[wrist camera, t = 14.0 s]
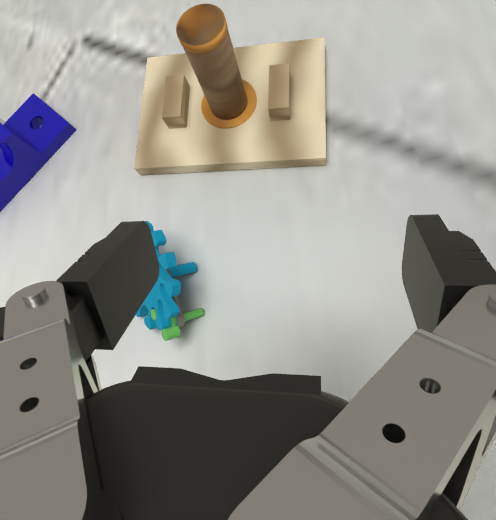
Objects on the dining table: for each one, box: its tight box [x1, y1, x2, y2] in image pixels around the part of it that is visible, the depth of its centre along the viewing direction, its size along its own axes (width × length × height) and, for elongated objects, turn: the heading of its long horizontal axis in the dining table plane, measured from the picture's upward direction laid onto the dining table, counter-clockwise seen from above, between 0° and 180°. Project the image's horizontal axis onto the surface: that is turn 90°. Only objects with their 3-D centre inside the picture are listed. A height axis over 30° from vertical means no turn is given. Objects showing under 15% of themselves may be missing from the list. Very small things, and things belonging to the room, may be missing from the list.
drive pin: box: [176, 4, 248, 120], centre depth 36 cm, size 4×4×10 cm
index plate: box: [134, 38, 326, 175], centre depth 40 cm, size 20×14×4 cm
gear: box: [136, 221, 204, 341], centre depth 36 cm, size 11×6×10 cm
